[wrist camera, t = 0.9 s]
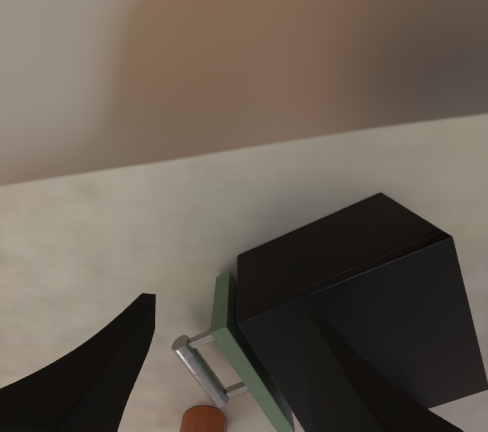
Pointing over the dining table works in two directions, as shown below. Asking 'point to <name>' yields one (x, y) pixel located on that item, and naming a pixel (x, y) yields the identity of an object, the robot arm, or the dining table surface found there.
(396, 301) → the drawer cabinet
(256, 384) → the green drawer
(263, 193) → the dining table surface
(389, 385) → the robot arm
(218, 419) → the cup
